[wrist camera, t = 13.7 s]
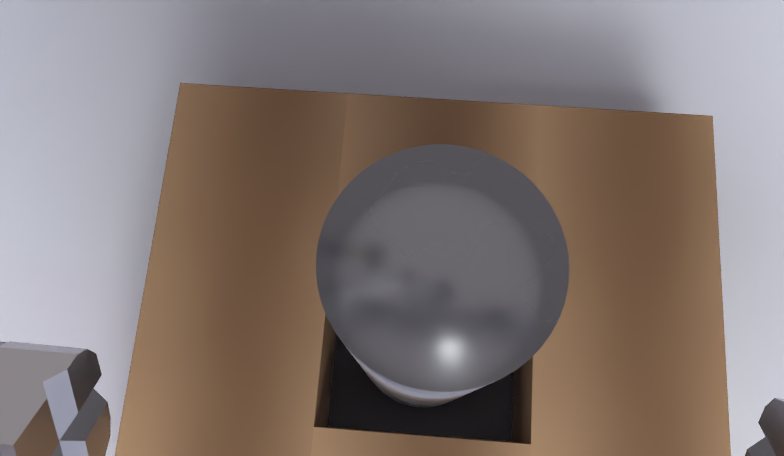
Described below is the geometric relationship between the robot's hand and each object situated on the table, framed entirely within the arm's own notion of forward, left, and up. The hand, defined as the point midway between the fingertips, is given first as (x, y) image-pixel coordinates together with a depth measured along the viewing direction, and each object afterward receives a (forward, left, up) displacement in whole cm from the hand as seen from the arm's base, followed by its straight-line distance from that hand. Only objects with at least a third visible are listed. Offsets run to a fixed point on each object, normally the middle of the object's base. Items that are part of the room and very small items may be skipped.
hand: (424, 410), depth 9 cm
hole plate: (0, +2, -11) cm, 11 cm away
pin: (0, +2, -11) cm, 11 cm away
